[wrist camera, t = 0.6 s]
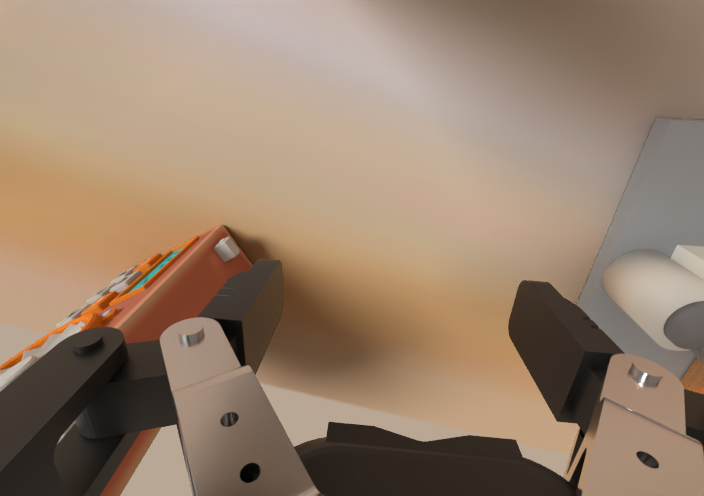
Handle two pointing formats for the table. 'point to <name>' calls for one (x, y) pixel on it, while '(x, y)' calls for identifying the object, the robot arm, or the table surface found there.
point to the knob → (695, 373)
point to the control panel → (145, 313)
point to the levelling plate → (653, 226)
